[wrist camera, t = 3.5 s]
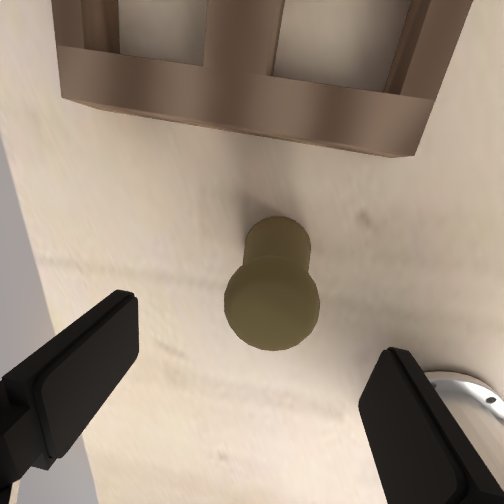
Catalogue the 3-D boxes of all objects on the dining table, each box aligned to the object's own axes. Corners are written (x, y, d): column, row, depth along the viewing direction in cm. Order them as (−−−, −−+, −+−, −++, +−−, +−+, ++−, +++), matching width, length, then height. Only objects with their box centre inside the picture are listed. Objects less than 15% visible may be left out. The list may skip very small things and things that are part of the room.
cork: (233, 232, 22) (186, 289, 11) (295, 205, 20) (305, 243, 10) (261, 287, 23) (241, 381, 13) (320, 265, 22) (351, 353, 11)
